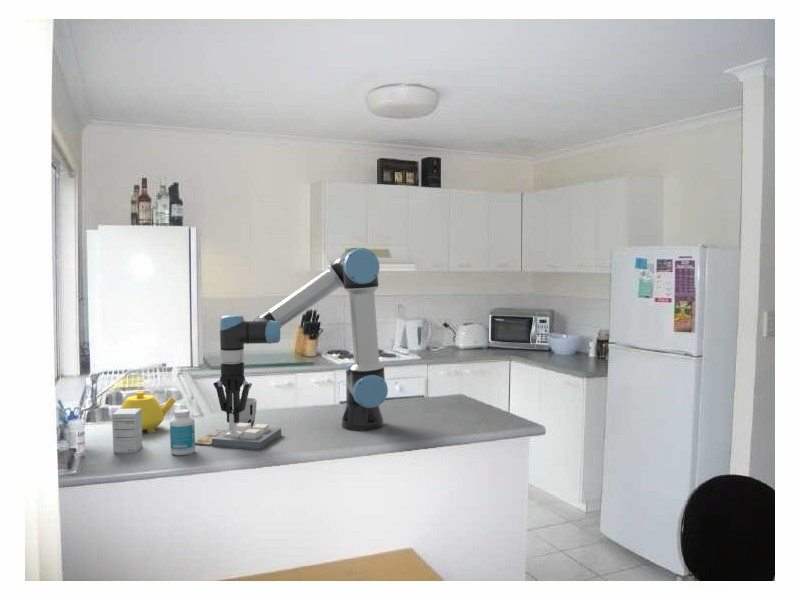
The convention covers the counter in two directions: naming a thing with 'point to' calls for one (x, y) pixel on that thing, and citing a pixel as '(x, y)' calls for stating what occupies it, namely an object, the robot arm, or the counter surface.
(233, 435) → the button
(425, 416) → the counter surface
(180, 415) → the pill bottle
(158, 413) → the teapot
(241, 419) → the cup
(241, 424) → the button
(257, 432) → the button
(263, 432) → the button
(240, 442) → the button board
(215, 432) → the card
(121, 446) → the supplement box
